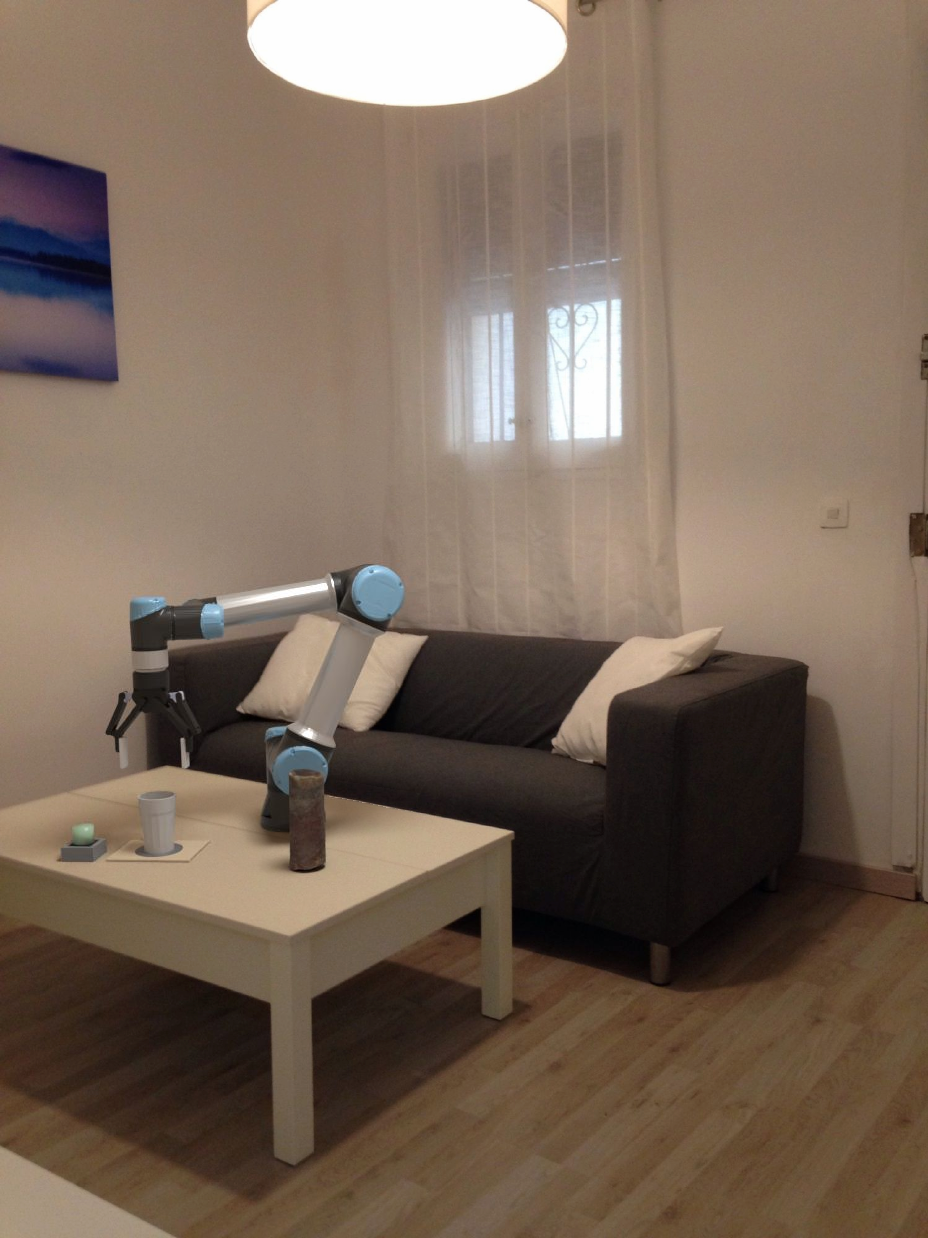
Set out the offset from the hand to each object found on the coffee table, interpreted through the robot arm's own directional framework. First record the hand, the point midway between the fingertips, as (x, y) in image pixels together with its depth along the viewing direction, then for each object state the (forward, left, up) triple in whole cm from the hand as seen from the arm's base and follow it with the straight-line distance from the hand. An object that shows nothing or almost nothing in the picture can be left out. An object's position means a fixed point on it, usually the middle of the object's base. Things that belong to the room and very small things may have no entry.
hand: (155, 767), depth 240 cm
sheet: (0, 0, -19) cm, 19 cm away
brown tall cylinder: (-35, +9, -19) cm, 41 cm away
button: (+15, +4, -15) cm, 22 cm away
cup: (0, 0, -18) cm, 18 cm away
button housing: (+15, +4, -19) cm, 24 cm away
